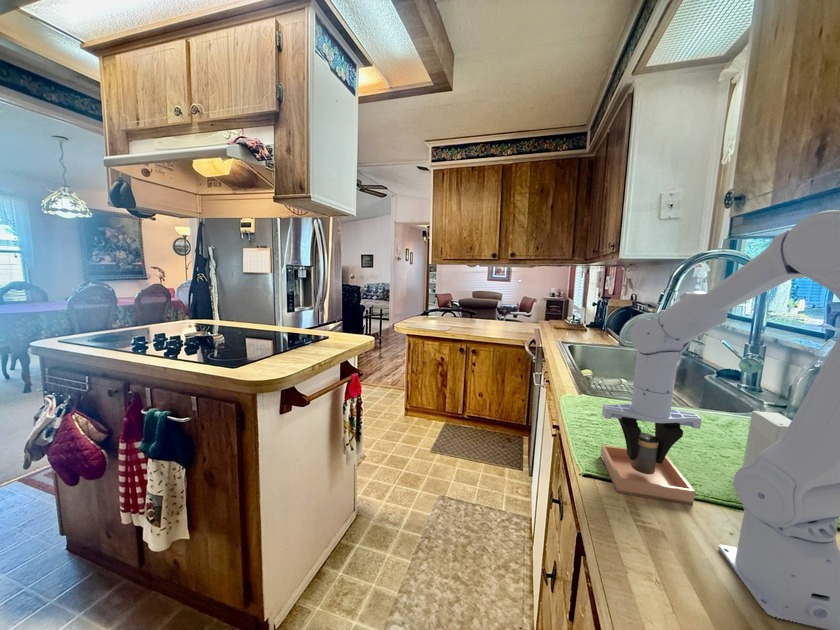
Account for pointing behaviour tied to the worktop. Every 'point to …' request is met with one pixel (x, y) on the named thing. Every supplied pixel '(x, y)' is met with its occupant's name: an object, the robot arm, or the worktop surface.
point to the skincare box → (763, 433)
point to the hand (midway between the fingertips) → (644, 458)
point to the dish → (646, 478)
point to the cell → (646, 454)
